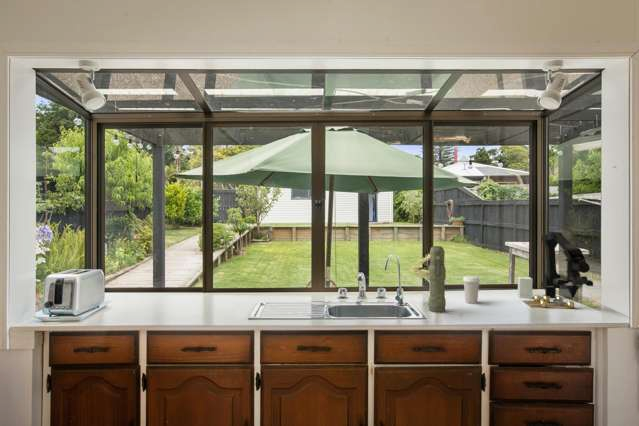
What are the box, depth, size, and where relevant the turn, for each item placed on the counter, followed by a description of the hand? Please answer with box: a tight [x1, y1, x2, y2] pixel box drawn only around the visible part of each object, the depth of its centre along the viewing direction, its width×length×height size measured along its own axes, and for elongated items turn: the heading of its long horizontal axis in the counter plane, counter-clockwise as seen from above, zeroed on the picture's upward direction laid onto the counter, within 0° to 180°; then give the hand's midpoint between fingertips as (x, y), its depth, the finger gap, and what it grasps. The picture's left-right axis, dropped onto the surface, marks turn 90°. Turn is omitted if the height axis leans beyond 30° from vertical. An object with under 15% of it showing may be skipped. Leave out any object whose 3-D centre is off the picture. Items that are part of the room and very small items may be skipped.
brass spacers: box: [533, 294, 575, 310], centre depth 230 cm, size 16×17×4 cm
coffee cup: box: [462, 275, 481, 305], centre depth 238 cm, size 10×10×15 cm
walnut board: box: [522, 300, 579, 310], centre depth 230 cm, size 17×24×1 cm
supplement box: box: [517, 276, 534, 300], centre depth 250 cm, size 7×7×13 cm
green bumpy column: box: [428, 245, 447, 313], centre depth 220 cm, size 9×12×35 cm
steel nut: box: [552, 298, 565, 306], centre depth 229 cm, size 5×5×3 cm
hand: (572, 297), depth 228 cm, fingers closed
